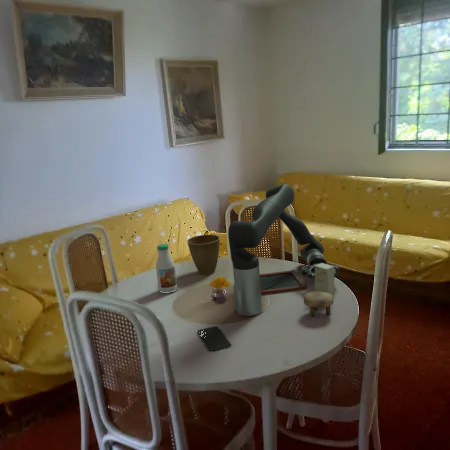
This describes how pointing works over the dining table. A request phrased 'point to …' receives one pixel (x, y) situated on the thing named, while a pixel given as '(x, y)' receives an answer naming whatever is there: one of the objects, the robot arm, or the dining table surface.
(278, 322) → the dining table surface
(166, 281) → the milk bottle
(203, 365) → the dining table surface
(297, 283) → the picture frame
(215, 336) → the phone
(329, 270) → the skincare box
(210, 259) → the plant pot
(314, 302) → the stool
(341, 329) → the dining table surface
